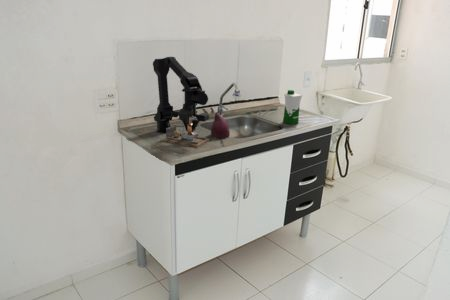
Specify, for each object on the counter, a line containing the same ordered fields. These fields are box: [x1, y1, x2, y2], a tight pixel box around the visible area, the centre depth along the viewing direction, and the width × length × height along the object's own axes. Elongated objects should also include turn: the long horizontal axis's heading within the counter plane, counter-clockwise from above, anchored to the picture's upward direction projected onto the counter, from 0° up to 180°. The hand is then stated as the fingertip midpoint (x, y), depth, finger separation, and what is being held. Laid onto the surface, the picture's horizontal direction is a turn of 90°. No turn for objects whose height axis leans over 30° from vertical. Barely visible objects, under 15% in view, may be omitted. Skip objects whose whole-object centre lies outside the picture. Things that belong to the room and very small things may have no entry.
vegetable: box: [210, 111, 231, 139], centre depth 197 cm, size 10×10×15 cm
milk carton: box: [282, 89, 303, 126], centre depth 228 cm, size 9×9×20 cm
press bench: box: [163, 125, 210, 149], centre depth 188 cm, size 20×12×6 cm, turn 66°
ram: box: [180, 122, 199, 141], centre depth 186 cm, size 7×6×8 cm
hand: (190, 131), depth 186 cm, fingers closed on ram, 3 cm apart
